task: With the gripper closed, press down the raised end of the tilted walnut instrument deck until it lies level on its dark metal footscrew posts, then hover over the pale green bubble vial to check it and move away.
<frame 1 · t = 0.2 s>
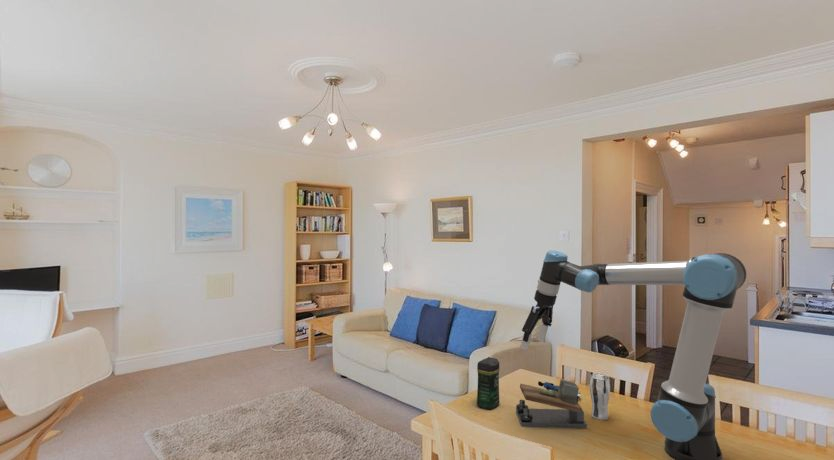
hand: (532, 344, 159), 27 cm above the table, tool tilted 15°, fingers open, 13 cm apart
coffee jar: (488, 405, 170), on the table
person figurine: (559, 397, 179), on the table
instrument deck: (551, 389, 156), point 11 cm above the table, hinge at 12.0°
beer glass: (599, 417, 159), on the table
grey base with fittings: (550, 419, 156), on the table
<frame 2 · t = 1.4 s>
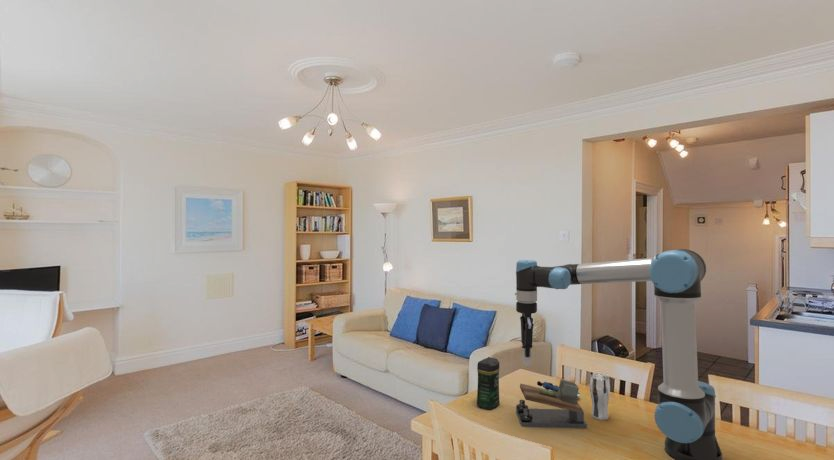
hand: (526, 364, 157), 20 cm above the table, tool pointing down, fingers closed
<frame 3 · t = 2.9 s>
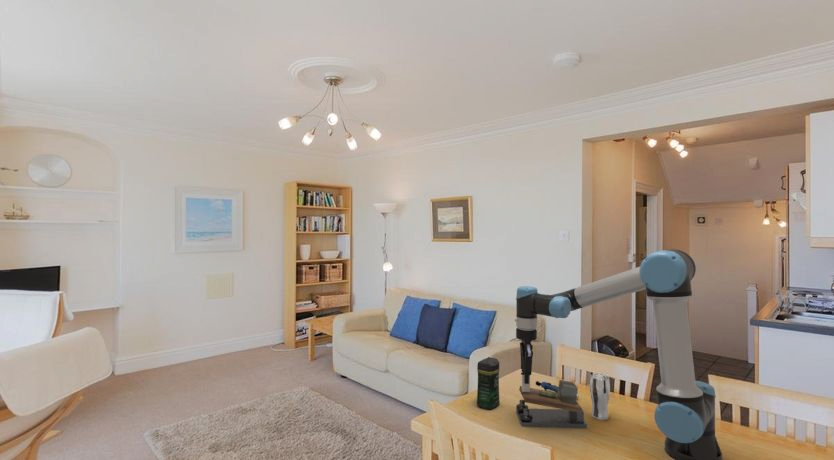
hand: (525, 391, 157), 10 cm above the table, tool pointing down, fingers closed
instrument deck: (550, 390, 156), point 11 cm above the table, hinge at 9.3°, touching gripper
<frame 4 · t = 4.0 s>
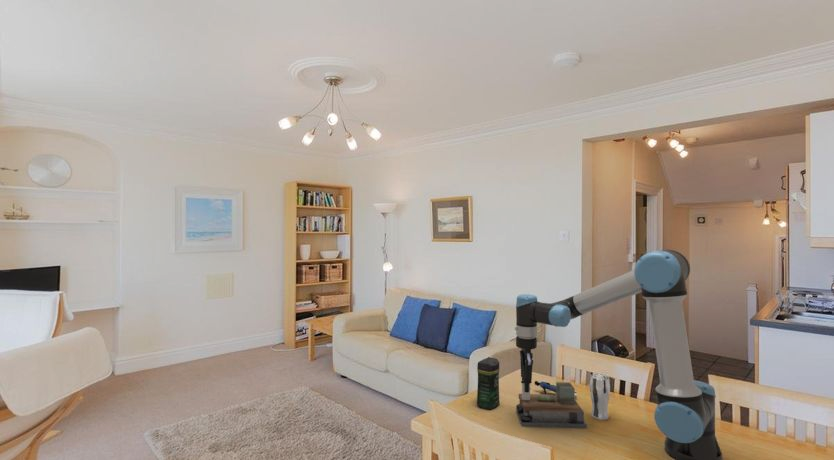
hand: (525, 399, 157), 7 cm above the table, tool pointing down, fingers closed
instrument deck: (548, 394, 156), point 9 cm above the table, hinge at 0.4°, touching gripper
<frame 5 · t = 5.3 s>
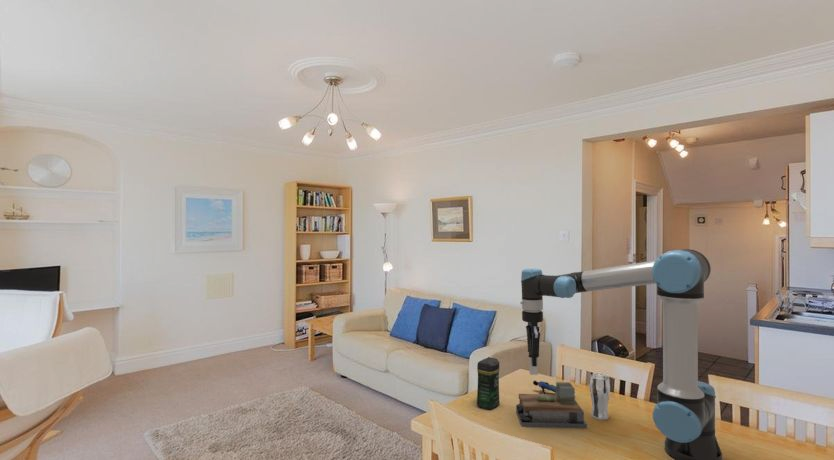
hand: (533, 373, 156), 17 cm above the table, tool pointing down, fingers closed
instrument deck: (548, 394, 156), point 9 cm above the table, hinge at 0.4°
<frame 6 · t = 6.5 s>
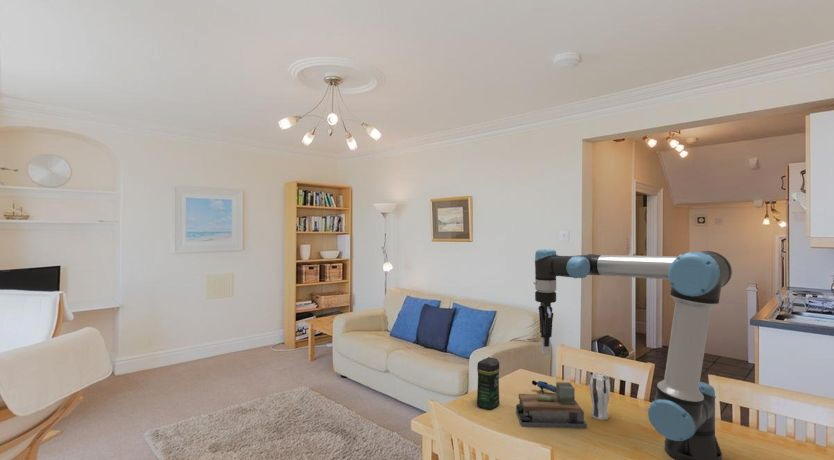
hand: (545, 354, 156), 24 cm above the table, tool pointing down, fingers closed
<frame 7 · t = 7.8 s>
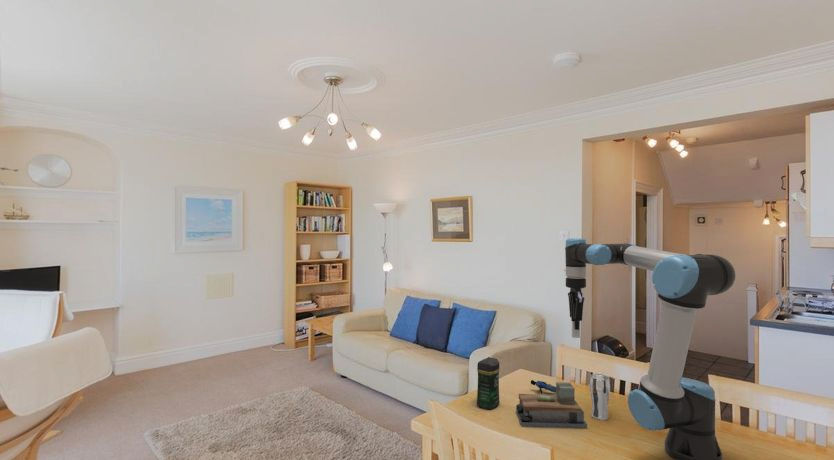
hand: (575, 337, 165), 28 cm above the table, tool pointing down, fingers closed
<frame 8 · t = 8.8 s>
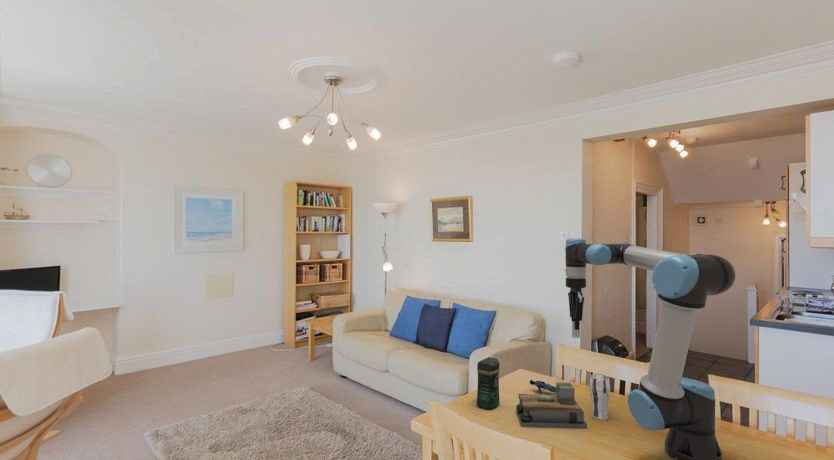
hand: (575, 337, 166), 28 cm above the table, tool pointing down, fingers closed
at the end: instrument deck at +0° (first picture: +12°); coffee jar moved 0.2 cm from its start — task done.
